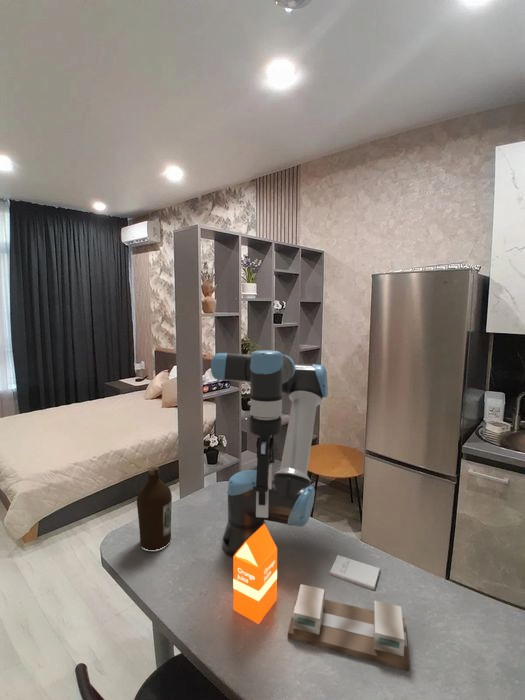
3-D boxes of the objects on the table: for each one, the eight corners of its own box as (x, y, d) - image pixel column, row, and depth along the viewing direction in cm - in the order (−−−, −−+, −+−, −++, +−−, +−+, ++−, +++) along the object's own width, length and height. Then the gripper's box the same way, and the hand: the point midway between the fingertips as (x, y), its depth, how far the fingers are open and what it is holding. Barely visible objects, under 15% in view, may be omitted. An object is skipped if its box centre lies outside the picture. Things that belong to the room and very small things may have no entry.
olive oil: (133, 553, 112) (130, 476, 109) (145, 532, 122) (143, 461, 119) (167, 554, 111) (164, 477, 108) (176, 533, 122) (175, 462, 119)
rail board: (287, 638, 83) (288, 616, 83) (297, 598, 95) (297, 579, 94) (408, 670, 76) (410, 647, 75) (403, 623, 87) (404, 602, 87)
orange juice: (277, 599, 94) (277, 527, 92) (258, 624, 87) (259, 547, 85) (252, 587, 98) (252, 518, 96) (232, 609, 91) (232, 535, 89)
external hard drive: (374, 592, 98) (329, 576, 103) (379, 573, 105) (337, 558, 111) (374, 587, 97) (329, 571, 103) (380, 567, 105) (337, 553, 110)
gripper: (255, 403, 99) (254, 478, 101) (243, 431, 74) (242, 530, 76) (282, 404, 98) (281, 479, 100) (279, 432, 73) (277, 532, 75)
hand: (264, 501), depth 88 cm, fingers open, 13 cm apart
